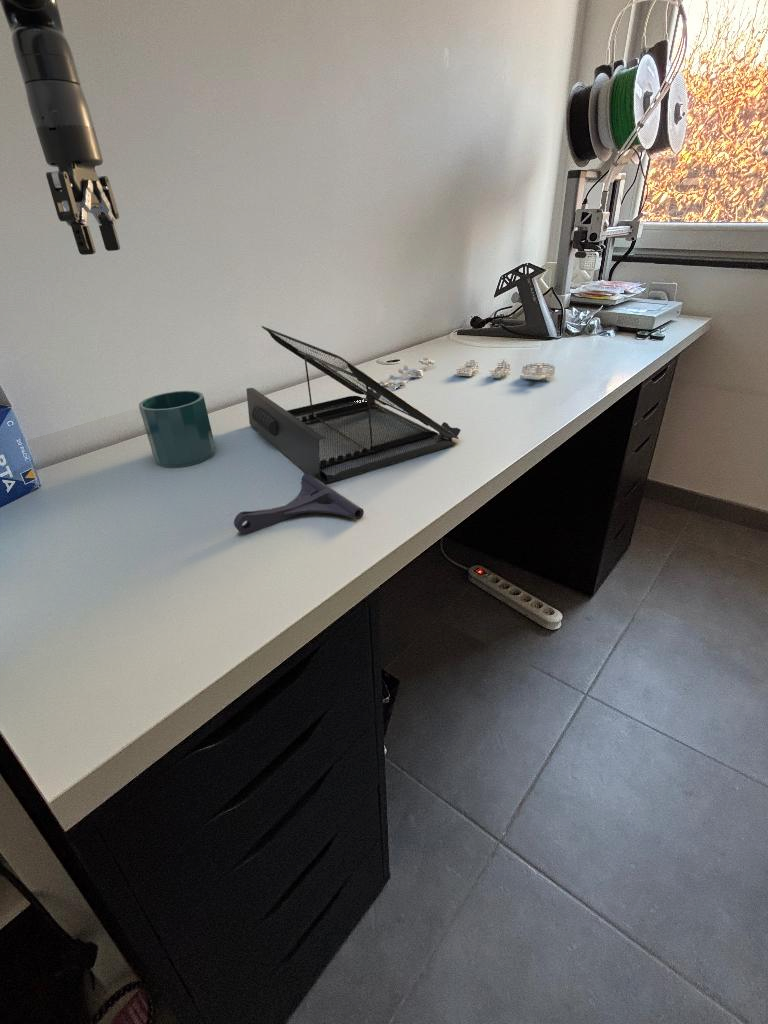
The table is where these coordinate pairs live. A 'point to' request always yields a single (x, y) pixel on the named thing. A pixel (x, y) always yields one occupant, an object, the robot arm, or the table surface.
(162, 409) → the pen pot
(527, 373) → the drone parts
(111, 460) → the table surface
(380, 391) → the laptop stand
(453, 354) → the table surface
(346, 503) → the bracket
